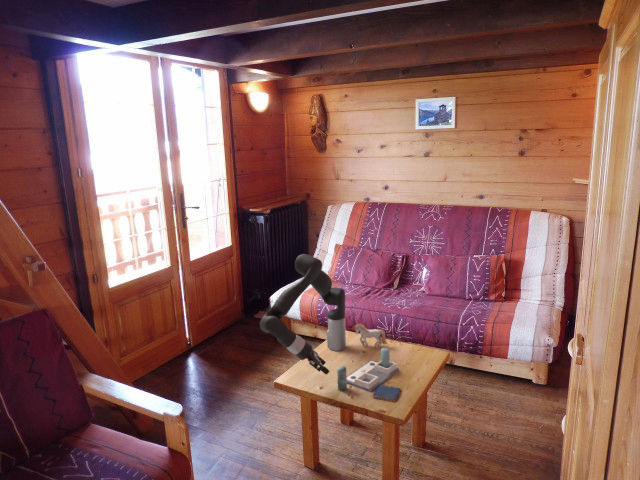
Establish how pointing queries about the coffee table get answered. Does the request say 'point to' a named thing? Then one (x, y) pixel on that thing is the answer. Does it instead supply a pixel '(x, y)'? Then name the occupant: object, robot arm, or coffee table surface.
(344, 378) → the teal peg
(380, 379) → the peg board
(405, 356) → the coffee table surface
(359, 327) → the unicorn figurine
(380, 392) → the woven mat
